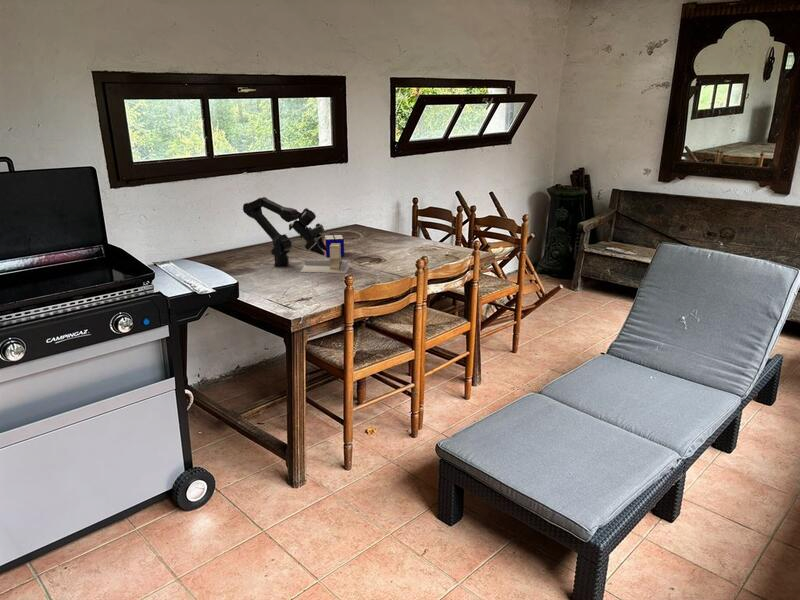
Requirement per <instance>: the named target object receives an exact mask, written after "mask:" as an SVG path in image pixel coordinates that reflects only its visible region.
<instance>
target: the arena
mask: <svg viewBox="0 0 800 600" xmlns="http://www.w3.org/2000/svg"><path fill="white" fill-rule="evenodd" d="M350 267H351V266H350V265H348V259H341V266H340V269H330V259H307V258H305V259H304V265H303V267H302V268H301V270H300V271H299V272H300V273H305V272H322V273H321V274H348V270H349V269H350Z"/></svg>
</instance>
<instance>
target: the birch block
mask: <svg viewBox="0 0 800 600" xmlns="http://www.w3.org/2000/svg"><path fill="white" fill-rule="evenodd" d="M329 260H330V269H340V266H341V260H342V258H341V247H340V243H331V245H330V257H329Z"/></svg>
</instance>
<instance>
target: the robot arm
mask: <svg viewBox="0 0 800 600" xmlns="http://www.w3.org/2000/svg"><path fill="white" fill-rule="evenodd" d="M262 208H265V209H267V210H268V211H271V212H272V213H275V214H277V215H279V217H280V218H281V219H282V220H283V221H285V222H286V223H289V225H288V231H291V230H292V229H293V230H294V231H295V232H296V233H297V234H298V235H299V236H300V237H299V238H300V239H303V240H305V244H304V248H305V250H307V251H310V252H313V253H316V254H318V255H321V256H326V255H325V251H327V250H328V249H327V247H326V246H325V244H324V241H323V238H324V236H323V233H324V231H325V228H324V225H323V224H321V223H316V224H315V227H314V228H312V227H308V226H309V225H310V224H312V222H314V221H315V219H316V217H317V216H316V213H315V212H314V211H312V210H310V209H309V208H307V207H305V208H304V209H303V211H301V212H300V211H298V210H297V208H296V209H295V208H291V207H287V206H286V207H285V206H283V205H281V204H279V203H277V202H275V201H272V200H270V199H268V198H267V197H265V196H263V197H259V198H256V199H255V200H253V201H249V202H245V203H243V205H242V211H243V213H244V214H245V215H247V216H248V217H249V218H251V219H253V220H255V222H256V223H257V224H258V225H259V226H260V227H261V229H262V230H263V231H264V233H265V234H266V235H268V237H269V238H270V239H271V240H272V245H273V248H272V249H271V250H270V253H271V255H273V257H274V264H273V267H284V268H285V267H288V265H290V257H289V255H288V254H289V253H290V250H291V248H292V241H291V238H289V236H287V234H285V233H284V234H281V233H280V232H279V231H278V230H277V229H276V228H275V227H274V225H273V224H272V223H271V222H270V220H268V218H267V217H266V216H265V215H264V214H263V210H262ZM323 250H324V251H323Z"/></svg>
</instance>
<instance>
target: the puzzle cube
mask: <svg viewBox="0 0 800 600" xmlns="http://www.w3.org/2000/svg"><path fill="white" fill-rule="evenodd" d="M323 240H324V241H323V242H324V244H325V246H326V247H327V249H328V250H327V251H325V250H324V253H325V255H324V256H325V257H326V258H330V245H331V243H340V247H341V256H342V257H345V239H344V236H343V235H342V234H340V235H337V234H336V235H335V234H334V235H324V236H323Z"/></svg>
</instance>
